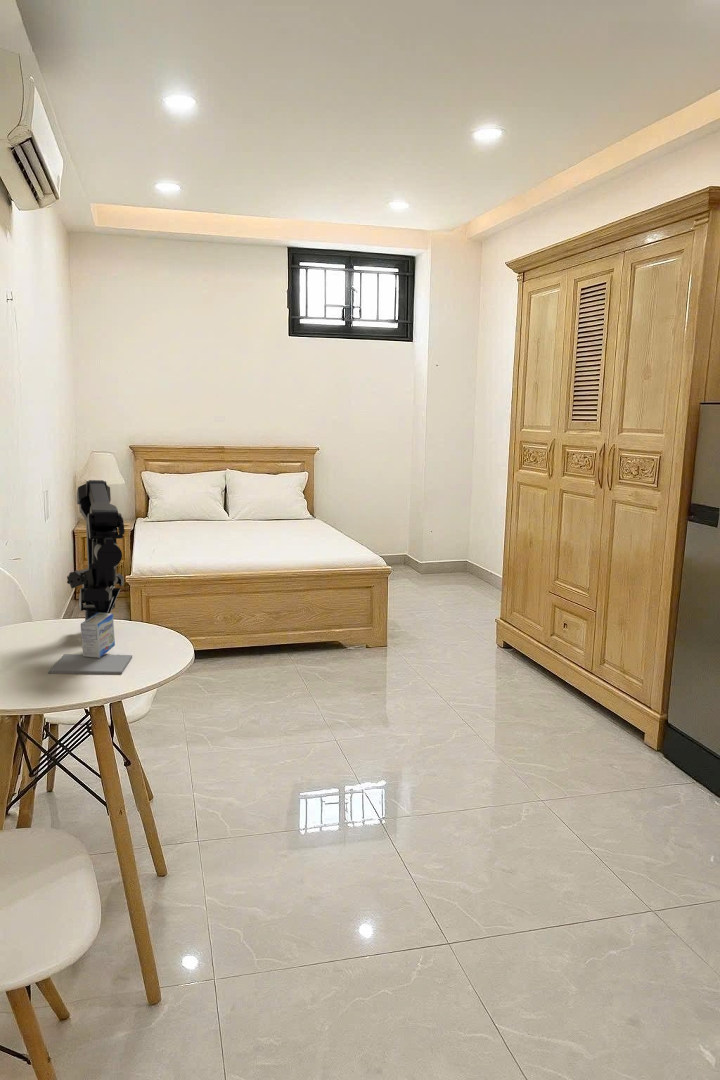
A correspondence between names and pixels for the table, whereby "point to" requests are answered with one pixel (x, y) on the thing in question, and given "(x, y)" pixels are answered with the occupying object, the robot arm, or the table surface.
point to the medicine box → (97, 635)
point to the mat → (90, 664)
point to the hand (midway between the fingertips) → (103, 620)
